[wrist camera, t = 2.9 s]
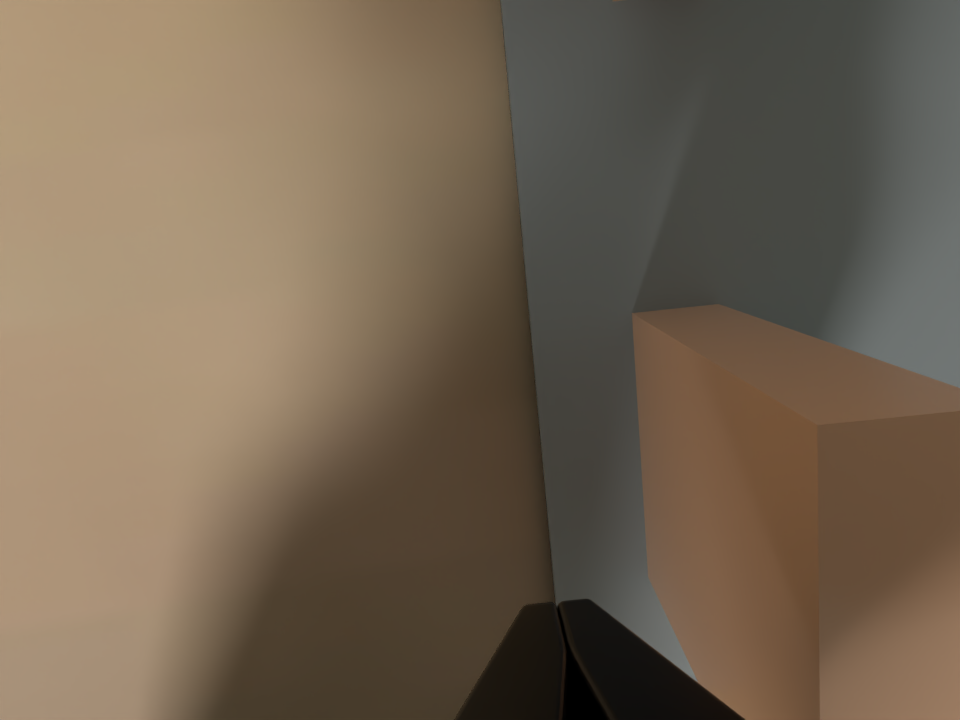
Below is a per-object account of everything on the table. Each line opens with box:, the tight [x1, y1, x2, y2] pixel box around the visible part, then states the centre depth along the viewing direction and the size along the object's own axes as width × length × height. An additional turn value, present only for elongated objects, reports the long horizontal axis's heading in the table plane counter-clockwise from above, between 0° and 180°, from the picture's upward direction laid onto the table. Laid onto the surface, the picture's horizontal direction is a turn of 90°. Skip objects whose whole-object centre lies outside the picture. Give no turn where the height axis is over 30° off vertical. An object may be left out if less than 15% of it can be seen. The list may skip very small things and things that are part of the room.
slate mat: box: [500, 0, 960, 682], centre depth 14 cm, size 24×16×1 cm, turn 6°
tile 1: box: [632, 304, 960, 720], centre depth 11 cm, size 6×2×8 cm, turn 6°
